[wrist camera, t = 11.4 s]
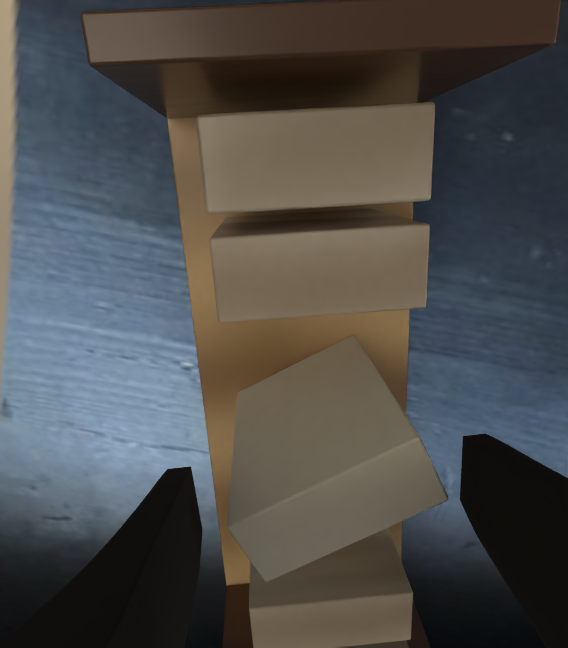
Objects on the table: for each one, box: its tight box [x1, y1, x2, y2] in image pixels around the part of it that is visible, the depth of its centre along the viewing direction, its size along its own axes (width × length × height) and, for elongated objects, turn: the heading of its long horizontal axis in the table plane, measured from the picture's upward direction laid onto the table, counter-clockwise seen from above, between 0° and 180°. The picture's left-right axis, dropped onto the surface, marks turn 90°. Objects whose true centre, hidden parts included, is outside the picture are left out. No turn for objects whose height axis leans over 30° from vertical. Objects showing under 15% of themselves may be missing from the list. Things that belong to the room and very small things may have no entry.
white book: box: [227, 335, 448, 582], centre depth 14 cm, size 2×5×7 cm, turn 117°
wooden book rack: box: [81, 0, 561, 648], centre depth 14 cm, size 21×8×8 cm, turn 3°
